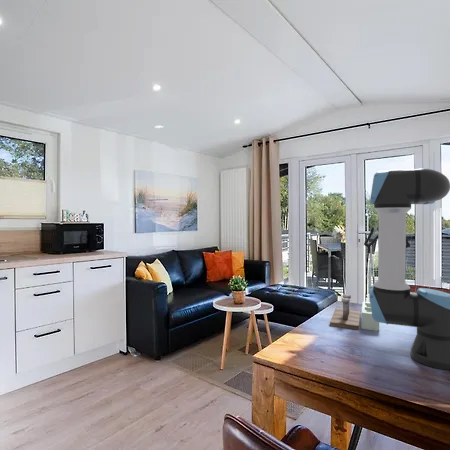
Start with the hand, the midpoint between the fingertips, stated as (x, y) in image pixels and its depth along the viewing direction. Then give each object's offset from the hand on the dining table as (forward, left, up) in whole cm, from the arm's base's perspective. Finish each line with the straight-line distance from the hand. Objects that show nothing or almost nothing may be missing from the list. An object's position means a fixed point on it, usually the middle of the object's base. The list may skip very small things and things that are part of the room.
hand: (386, 260), depth 158 cm
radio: (+9, 0, -28) cm, 29 cm away
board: (-14, +17, -27) cm, 35 cm away
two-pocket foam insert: (-15, +7, -27) cm, 32 cm away
